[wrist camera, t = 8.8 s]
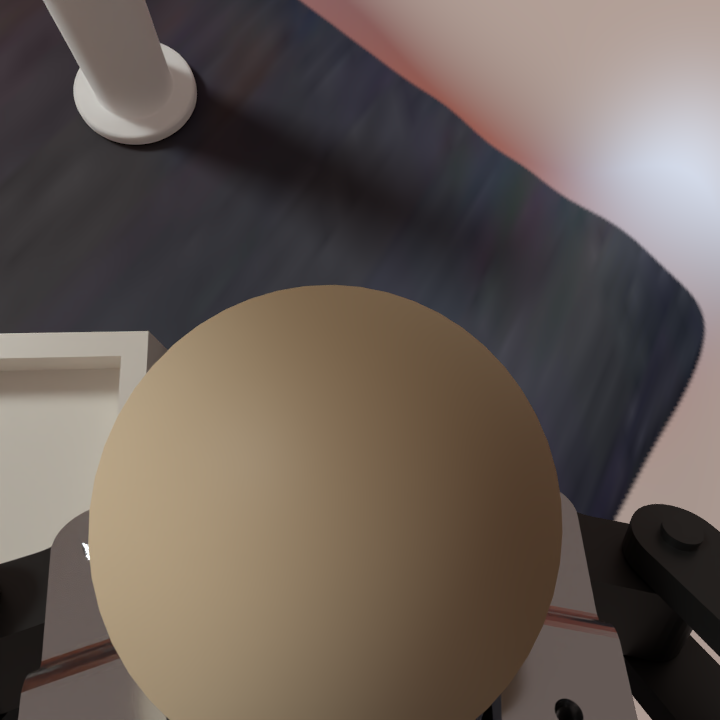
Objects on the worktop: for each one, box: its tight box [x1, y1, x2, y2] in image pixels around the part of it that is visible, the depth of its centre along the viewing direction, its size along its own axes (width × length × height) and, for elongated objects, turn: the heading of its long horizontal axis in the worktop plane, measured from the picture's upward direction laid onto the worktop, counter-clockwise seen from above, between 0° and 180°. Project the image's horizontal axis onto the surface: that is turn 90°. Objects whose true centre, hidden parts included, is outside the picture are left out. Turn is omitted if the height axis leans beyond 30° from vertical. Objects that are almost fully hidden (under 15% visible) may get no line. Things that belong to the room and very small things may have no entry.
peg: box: [88, 285, 563, 720], centre depth 11 cm, size 4×4×12 cm
